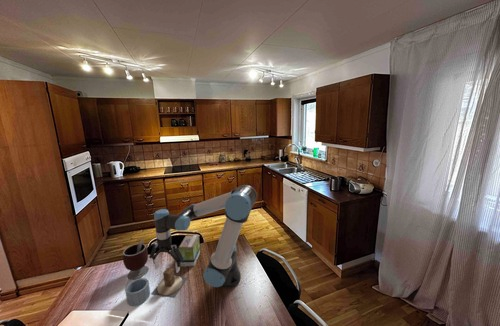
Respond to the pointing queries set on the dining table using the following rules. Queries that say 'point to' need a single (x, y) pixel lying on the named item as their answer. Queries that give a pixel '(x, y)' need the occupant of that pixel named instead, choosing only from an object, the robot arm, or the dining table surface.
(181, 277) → the mat
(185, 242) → the tea box
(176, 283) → the lid
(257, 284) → the dining table surface
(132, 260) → the mate gourd
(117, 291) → the dining table surface
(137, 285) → the bowl
